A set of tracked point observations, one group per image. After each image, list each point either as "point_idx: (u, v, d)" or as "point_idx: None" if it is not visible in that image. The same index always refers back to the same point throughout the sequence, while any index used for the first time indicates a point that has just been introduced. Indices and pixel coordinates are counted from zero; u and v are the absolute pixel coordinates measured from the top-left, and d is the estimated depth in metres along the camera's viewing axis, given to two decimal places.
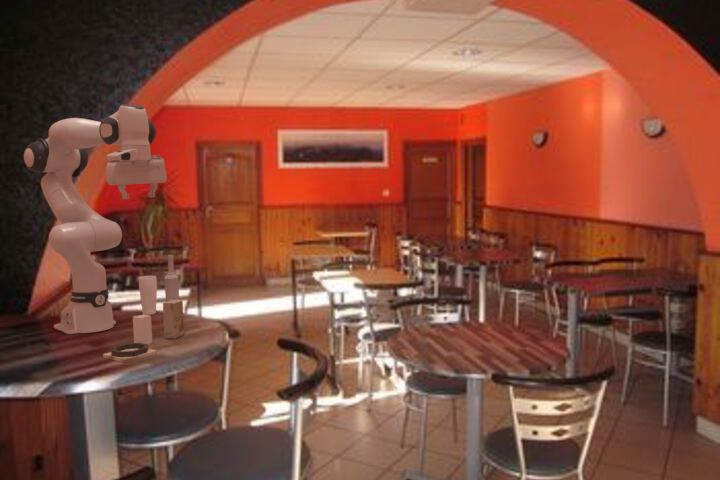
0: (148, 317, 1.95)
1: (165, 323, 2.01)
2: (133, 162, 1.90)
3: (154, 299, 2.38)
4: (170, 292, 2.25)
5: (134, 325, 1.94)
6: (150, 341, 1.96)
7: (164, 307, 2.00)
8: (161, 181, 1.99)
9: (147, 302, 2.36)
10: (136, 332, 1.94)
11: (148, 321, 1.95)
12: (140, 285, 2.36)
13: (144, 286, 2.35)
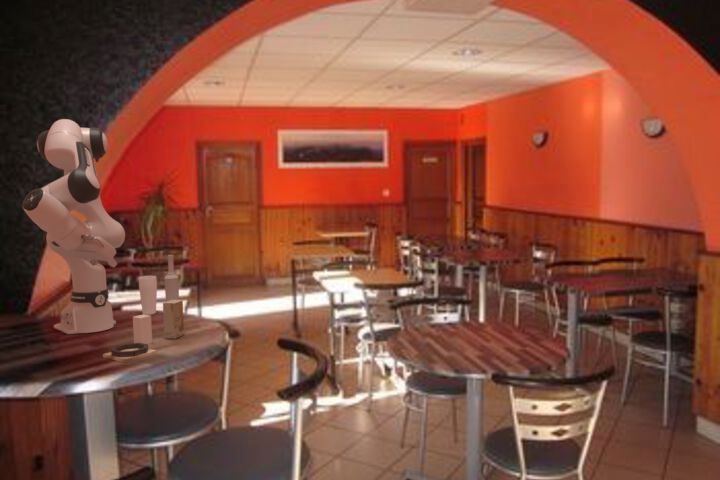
0: (148, 317, 1.95)
1: (165, 323, 2.01)
2: None
3: (154, 299, 2.38)
4: (170, 292, 2.25)
5: (134, 325, 1.94)
6: (150, 341, 1.96)
7: (164, 307, 2.00)
8: (105, 259, 1.74)
9: (147, 302, 2.36)
10: (136, 332, 1.94)
11: (148, 321, 1.95)
12: (140, 285, 2.36)
13: (144, 286, 2.35)
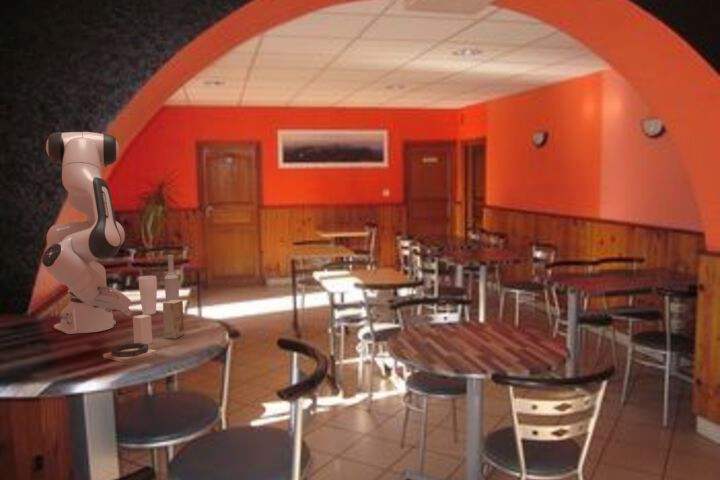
0: (148, 317, 1.95)
1: (165, 323, 2.01)
2: None
3: (154, 299, 2.38)
4: (170, 292, 2.25)
5: (134, 325, 1.94)
6: (150, 341, 1.96)
7: (164, 307, 2.00)
8: (121, 310, 1.80)
9: (147, 302, 2.36)
10: (136, 332, 1.94)
11: (148, 321, 1.95)
12: (140, 285, 2.36)
13: (144, 286, 2.35)
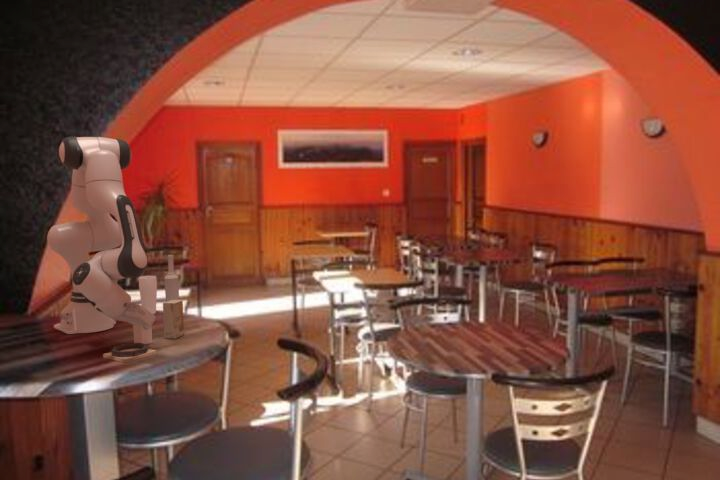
0: None
1: (165, 323, 2.01)
2: None
3: (154, 299, 2.38)
4: (170, 292, 2.25)
5: (134, 325, 1.94)
6: (150, 341, 1.96)
7: (164, 307, 2.00)
8: (146, 325, 1.87)
9: (147, 302, 2.36)
10: (136, 332, 1.94)
11: None
12: (140, 285, 2.36)
13: (144, 286, 2.35)
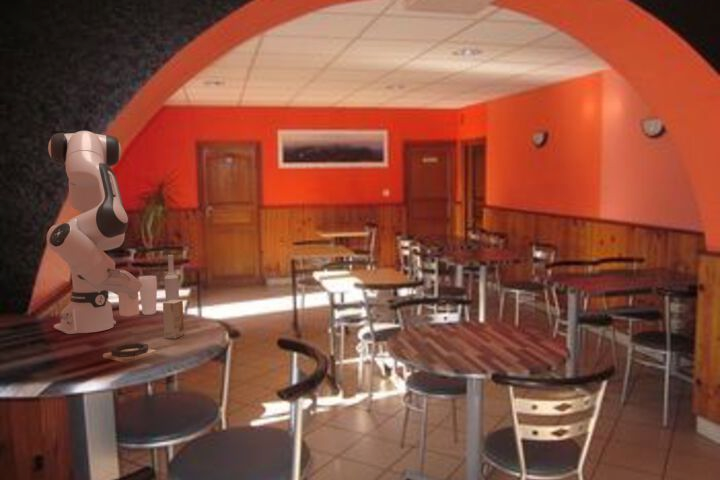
0: None
1: (165, 323, 2.01)
2: None
3: (154, 299, 2.38)
4: (170, 292, 2.25)
5: (119, 295, 1.79)
6: (137, 312, 1.81)
7: (164, 307, 2.00)
8: (131, 293, 1.73)
9: (147, 302, 2.36)
10: (122, 302, 1.79)
11: None
12: None
13: (144, 286, 2.35)
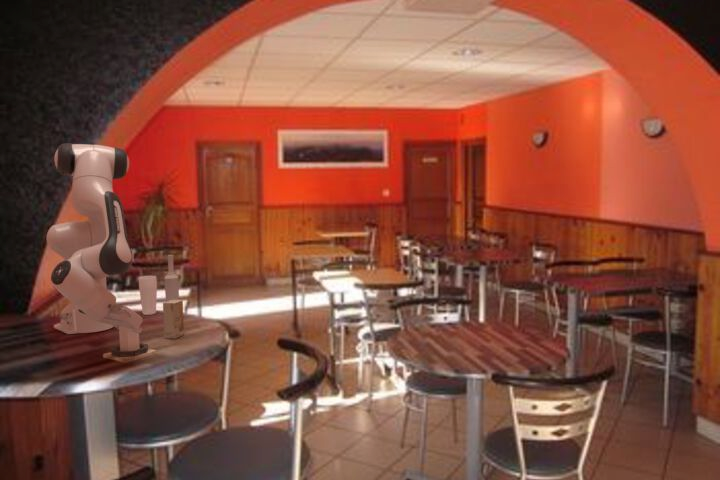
0: None
1: (165, 323, 2.01)
2: None
3: (154, 299, 2.38)
4: (170, 292, 2.25)
5: (120, 333, 1.80)
6: None
7: (164, 307, 2.00)
8: (132, 328, 1.73)
9: (147, 302, 2.36)
10: (123, 340, 1.80)
11: None
12: (140, 285, 2.36)
13: (144, 286, 2.35)
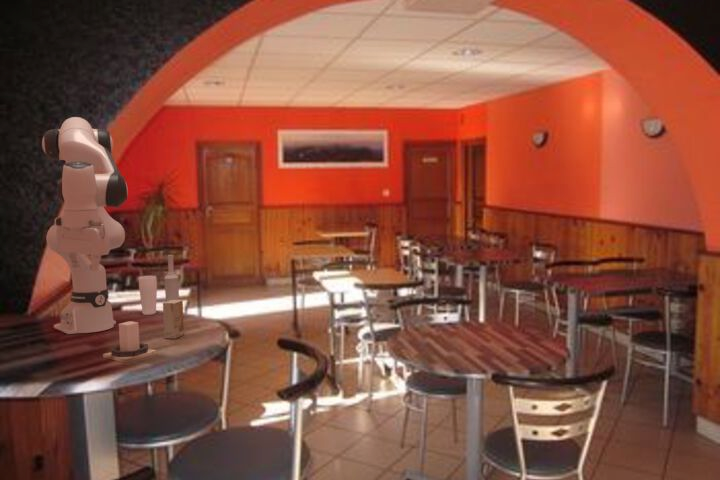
0: (135, 324, 1.81)
1: (165, 323, 2.01)
2: None
3: (154, 299, 2.38)
4: (170, 292, 2.25)
5: (120, 333, 1.80)
6: None
7: (164, 307, 2.00)
8: (93, 253, 1.62)
9: (147, 302, 2.36)
10: (123, 340, 1.80)
11: (135, 328, 1.81)
12: (140, 285, 2.36)
13: (144, 286, 2.35)
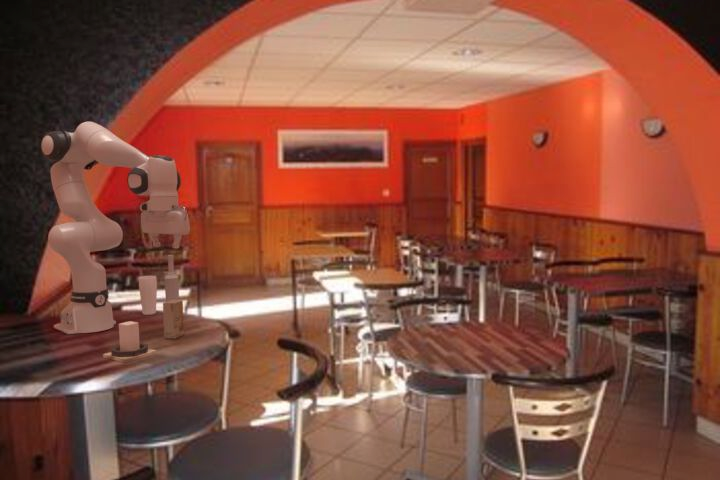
0: (135, 324, 1.81)
1: (165, 323, 2.01)
2: (154, 212, 1.94)
3: (154, 299, 2.38)
4: (170, 292, 2.25)
5: (120, 333, 1.80)
6: None
7: (164, 307, 2.00)
8: (177, 233, 1.90)
9: (147, 302, 2.36)
10: (123, 340, 1.80)
11: (135, 328, 1.81)
12: (140, 285, 2.36)
13: (144, 286, 2.35)
